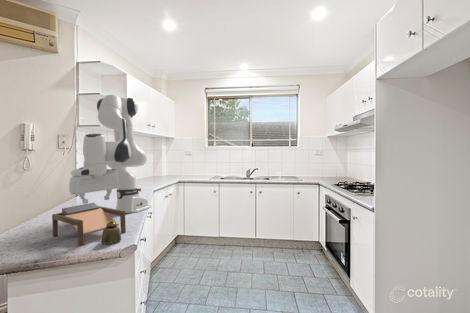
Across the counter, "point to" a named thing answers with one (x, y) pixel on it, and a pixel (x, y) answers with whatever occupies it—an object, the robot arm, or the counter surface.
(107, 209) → the frame
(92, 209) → the trapdoor
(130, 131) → the robot arm
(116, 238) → the bronze rounded piece
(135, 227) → the counter surface
